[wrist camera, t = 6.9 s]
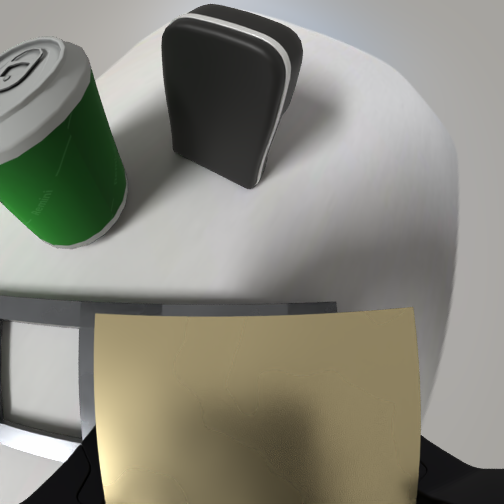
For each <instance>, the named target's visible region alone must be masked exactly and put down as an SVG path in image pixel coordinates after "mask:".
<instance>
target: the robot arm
mask: <svg viewBox="0 0 504 504" xmlns="http://www.w3.org/2000/svg"><path fill="white" fill-rule="evenodd" d="M19 504H106V501H105V496H104V490H103V483H102V476H101V469H100V461H99V453H98V443H97V432H96V424H95V426H94V427H93V428H92V429H91V431H90V432H89V433H88V434H87V436H86V437H85V438H84V439H83V441H82V442H81V444H79V446H78V447H77V448H76V449H75V451H74V452H73V453H72V454H71V455H70V457H69V458H68V459H67V460H66V461H65V462H64V464H63V465H62V466H61V467H60V468H59V469H58V470H57V471H56V472H55V473H54V474H53V475H52V476H51V477H50V478H49V479H48V480H46V481H45V482H44V483H43V484H42V485H41V486H40V487H39V488H38V489H37V490H36V491H35V492H34V493H33V494H32V495H31V496H30V497H28V498H27V499H26V500H24V501H23V502H21V503H19ZM416 504H504V469H481V468H476V467H472V466H470V465H468V464H466V463H464V462H462V461H460V460H459V459H457V458H455V457H454V456H452V455H451V454H449V453H447V452H446V451H444V450H442V449H441V448H439V447H438V446H436V445H434V444H433V443H431V442H430V441H428V440H427V439H426V438H424V437H423V436H422V435H420V461H419V476H418V488H417V498H416Z"/></svg>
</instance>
